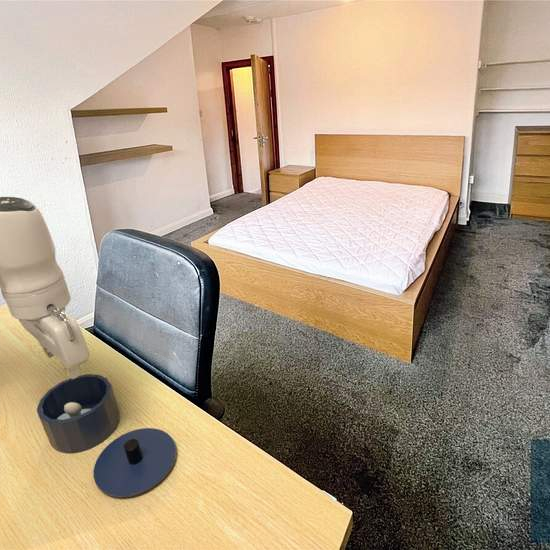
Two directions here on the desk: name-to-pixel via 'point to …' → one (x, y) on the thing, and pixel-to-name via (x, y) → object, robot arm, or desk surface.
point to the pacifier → (72, 411)
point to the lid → (134, 462)
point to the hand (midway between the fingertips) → (62, 364)
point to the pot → (84, 427)
